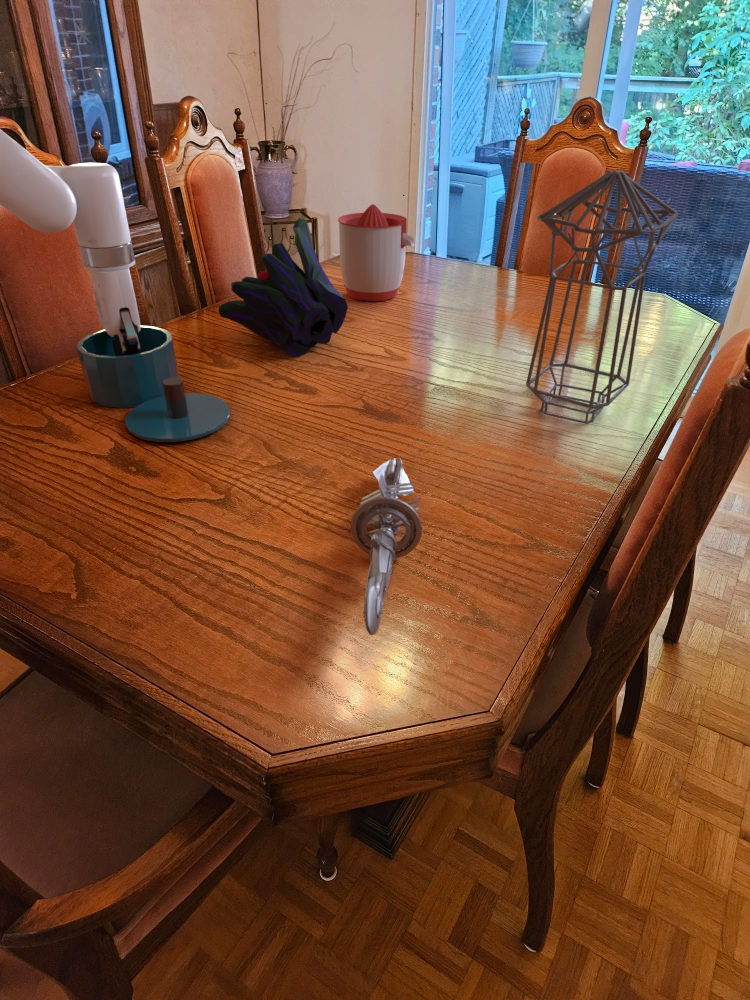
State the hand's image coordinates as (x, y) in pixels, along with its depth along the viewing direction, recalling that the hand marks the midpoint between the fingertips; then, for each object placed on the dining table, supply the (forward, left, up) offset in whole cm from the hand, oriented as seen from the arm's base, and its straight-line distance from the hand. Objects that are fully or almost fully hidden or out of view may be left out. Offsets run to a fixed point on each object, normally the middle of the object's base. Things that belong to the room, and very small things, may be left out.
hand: (130, 366), depth 110 cm
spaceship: (+29, -54, -4) cm, 62 cm away
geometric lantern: (+68, -25, -4) cm, 73 cm away
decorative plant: (+28, +19, -4) cm, 34 cm away
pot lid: (+7, -14, -3) cm, 16 cm away
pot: (0, 0, -4) cm, 4 cm away
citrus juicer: (+53, +42, -4) cm, 68 cm away
